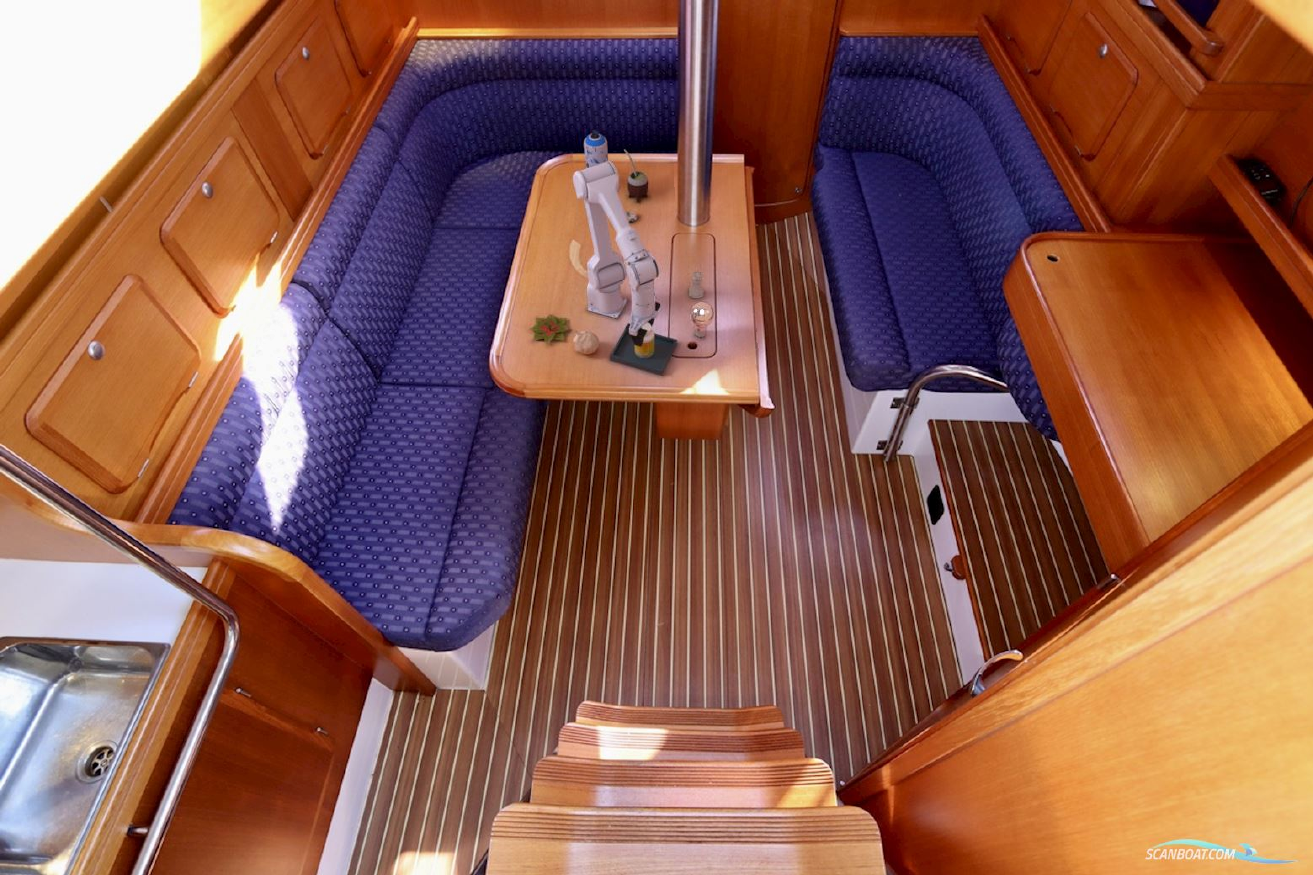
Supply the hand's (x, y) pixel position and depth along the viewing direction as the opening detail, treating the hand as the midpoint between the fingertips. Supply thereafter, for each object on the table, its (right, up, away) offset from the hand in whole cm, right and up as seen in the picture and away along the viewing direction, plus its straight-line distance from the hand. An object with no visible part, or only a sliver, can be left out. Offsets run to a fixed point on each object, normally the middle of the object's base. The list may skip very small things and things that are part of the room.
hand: (643, 335), depth 174 cm
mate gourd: (-3, +54, +45) cm, 70 cm away
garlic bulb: (-16, -3, +6) cm, 17 cm away
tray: (0, -4, +6) cm, 7 cm away
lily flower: (-27, +3, +10) cm, 29 cm away
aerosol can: (-16, +58, +48) cm, 77 cm away
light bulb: (+16, +1, +10) cm, 19 cm away
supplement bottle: (0, -4, +6) cm, 7 cm away
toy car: (-7, +44, +38) cm, 58 cm away
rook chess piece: (+15, +15, +19) cm, 29 cm away
